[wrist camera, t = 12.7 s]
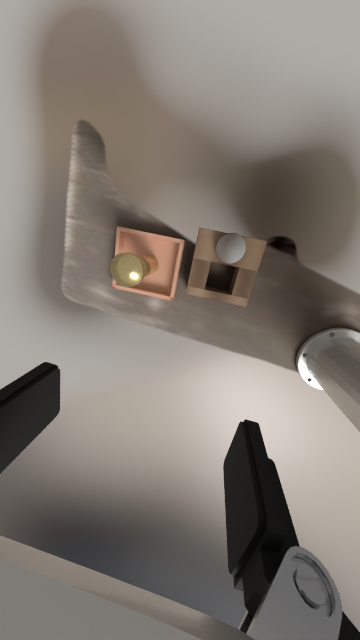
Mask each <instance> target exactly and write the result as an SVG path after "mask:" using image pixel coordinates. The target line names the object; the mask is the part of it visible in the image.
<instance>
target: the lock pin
mask: <svg viewBox="0 0 360 640" xmlns="http://www.w3.org/2000/svg"><path fill="white" fill-rule="evenodd" d="M158 267H159V263H158V260H157V259H156V258H155V257H154V256H152V255H145V256H138V255H136V254H134V253H119V254H117V255H116V256H115V257H114V258H113V259H112V261H111V264H110V272H111V275H112V277H113V279H114V280H115V282H116V283H118V284H119V285H121V286H123V287H133V286H135V285H137V284H139V283H140V282H141V281H142V280H143V278H144V277H146V276H148V275H151V274H153V273H155V272H156V271H157V270H158Z"/></svg>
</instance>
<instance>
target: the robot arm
mask: <svg viewBox="0 0 360 640" xmlns="http://www.w3.org/2000/svg"><path fill="white" fill-rule="evenodd" d="M296 366H297V370H298V372H299V375H300V376H301V377H302V379H303V380H304V381H305V382H306V383H308V384H309V385H311V386H313V387H315V388H317V389H322V390H324V391H325V392H326V393H327V394H328V396H329V397H330V398H331V399H332V400H333V401H334V402H335V404H336V405H337V406H338V407H339V408H340V409H341V410H342V412H343V413H344V414H345V415H346V416H347V418H348V419H349V420H350V421H351V422H352V423H353V424H354V426H355V427H356V428H357V429H358V430H359V431H360V333H359V332H357V331H355V330H352V329H348V328H330V329H327V330H323V331H321V332H319V333H316V334H315V335H313V336H312V337H310V338H309V339H308V340H307V341H306V342H305V343H304V344H303V345H302V347H301V348H300V350H299V352H298V354H297V358H296ZM59 410H60V369H58V366H57V365H55V364H51V363H48V362H44V363H42V364H40V365H39V366H37V367H36V368H34V369H32V370H31V371H29V372H28V373H26V374H25V375H23V376H21V377H20V378H18V379H17V380H15V381H13V382H12V383H10V384H9V385H7V386H5V387H4V388H2V389H1V390H0V473H1V472H2V471H3V470H4V469H5V468H6V467H7V466H8V465H9V464H10V463H11V462H12V461H13V460H14V459H15V458H16V457H17V456H18V455H19V454H20V453H21V452H22V451H23V450H24V449H25V448H26V447H27V446H28V445H29V444H30V443H31V442H32V441H33V440H34V439H35V438H36V437H37V436H38V435H39V434H40V433H41V431H43V429H45V428H46V426H47V425H48V424H49V423H50V422H51V421H52V420H53V419H54V418H55V417H56V416H57V415H58V413H59ZM224 489H225V508H226V530H227V550H228V568H229V572H230V574H232V575H234V588H235V589H239V590H241V591H244V602H245V607H246V608H247V612H246V614H245V616H244V618H243V620H242V622H241V624H240V626H239V628H238V629H236V628H234V627H232V626H230V625H228V624H226V623H224V622H222V621H220V620H218V619H216V618H213V617H211V616H208V615H206V614H203V613H201V612H199V611H196V610H194V609H191V608H189V607H186V606H184V605H182V604H179V603H177V602H174V601H172V600H169V599H167V598H164V597H162V596H159V595H156V594H154V593H151V592H149V591H146V590H143V589H141V588H138V587H135V586H133V585H130V584H128V583H125V582H122V581H120V580H117V579H114V578H112V577H109V576H107V575H104V574H101V573H99V572H96V571H94V570H91V569H88V568H86V567H83V566H80V565H77V564H75V563H72V562H69V561H67V560H64V559H61V558H59V557H56V556H54V555H51V554H48V553H46V552H43V551H40V550H38V549H35V548H32V547H29V546H27V545H24V544H21V543H19V542H16V541H13V540H11V539H8V538H5V537H2V536H0V640H360V632H359V631H358V630H357V629H356V627H355V626H354V625H353V624H352V622H351V621H350V620H349V619H348V618H347V616H346V615H345V614H344V612H343V611H342V605H341V600H340V596H339V593H338V590H337V588H336V585H335V583H334V581H333V579H332V578H331V576H330V574H329V573H328V571H327V569H326V568H325V567H324V566H323V564H322V563H321V562H320V561H319V560H318V559H317V558H316V557H315V556H314V555H313V554H312V553H311V552H309V551H308V550H306V549H304V548H302V547H300V546H299V543H298V540H297V536H296V533H295V529H294V526H293V523H292V519H291V516H290V513H289V509H288V506H287V503H286V499H285V496H284V493H283V489H282V486H281V483H280V479H279V476H278V473H277V470H276V466H275V464H274V462H273V461H272V460H271V459H269V458H268V456H267V453H266V449H265V445H264V442H263V438H262V434H261V431H260V427H259V424H258V423H256V422H253V421H249V420H244V422H240V423H239V426H238V428H237V431H236V433H235V435H234V438H233V440H232V443H231V445H230V448H229V450H228V453H227V455H226V458H225V461H224Z"/></svg>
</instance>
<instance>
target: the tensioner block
mask: <svg viewBox="0 0 360 640" xmlns="http://www.w3.org/2000/svg"><path fill="white" fill-rule="evenodd" d="M266 244H267V241H264V240H259V239H254V238H248V237H244V236H240V235H238V234H236V233H223V232H219V231H214V230H209V229H204V228H199V232H198V237H197V242H196V246H195V251H194V256H193V261H192V266H191V271H190V276H189V280H188V285H187V290H186V294H189V295H194V296H198V297H203V298H208V299H212V300H217V301H221V302H226V303H231V304H235V305H240V306H245V307H247V304H248V301H249V297H250V294H251V291H252V288H253V285H254V282H255V279H256V276H257V272H258V269H259V266H260V263H261V260H262V257H263V254H264V251H265V247H266ZM211 262H216V263H220V264H225V265H230V266H235V270H234V274H233V277H232V281H231V284H230V288H229V291H227V290H222V289H217V288H213V287H208V286H205V285H206V281H207V277H208V272H209V268H210V264H211Z"/></svg>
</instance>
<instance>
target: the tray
mask: <svg viewBox="0 0 360 640" xmlns="http://www.w3.org/2000/svg"><path fill="white" fill-rule="evenodd" d="M185 242H186V241H185V240H182V239H177V238H172V237H167V236H162V235H157V234H152V233H147V232H143V231H138V230H133V229H128V228H123V227H118V226H117V234H116V247H115V256H116V255H117V254H119V253H134V254H136V255H138V256H145V255H152V256H154V257H155V258H156V259H157V260H158V263H159V267H158V270H157V271H156V272H155V273H153V274H151V275H148V276H146V277H144V278H143V280H142V281H141V282H140V283H139V284H137V285H135V286H133V287H123V286H121V285H119V284H118V283H116V282H115V280H114V279H113V286H112V288H117V289H121V290H126V291H130V292H135V293H140V294H144V295H149V296H153V297H158V298H163V299H167V300H172V301H173V300H174V298H175V295H176V290H177V284H178V279H179V274H180V269H181V263H182V258H183V253H184V247H185Z"/></svg>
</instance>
